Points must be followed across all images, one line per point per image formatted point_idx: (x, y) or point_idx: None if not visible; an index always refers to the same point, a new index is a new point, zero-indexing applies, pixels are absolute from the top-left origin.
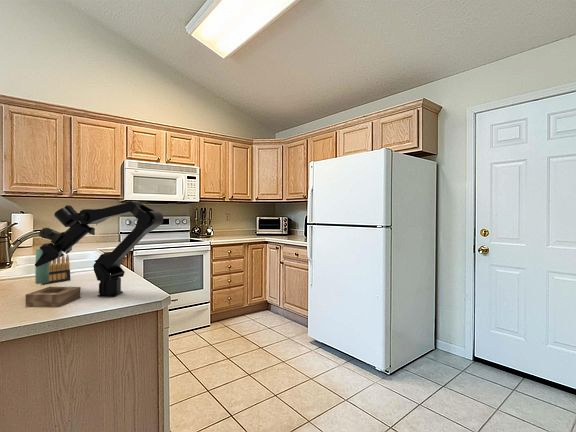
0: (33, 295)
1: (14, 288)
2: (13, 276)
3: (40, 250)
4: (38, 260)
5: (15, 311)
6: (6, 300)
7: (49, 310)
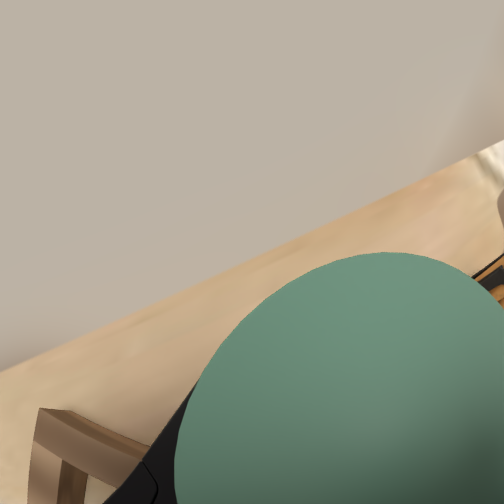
0: (35, 440)
1: (406, 217)
2: (498, 161)
3: (187, 491)
4: (168, 432)
5: (24, 393)
6: (196, 291)
7: (22, 489)
